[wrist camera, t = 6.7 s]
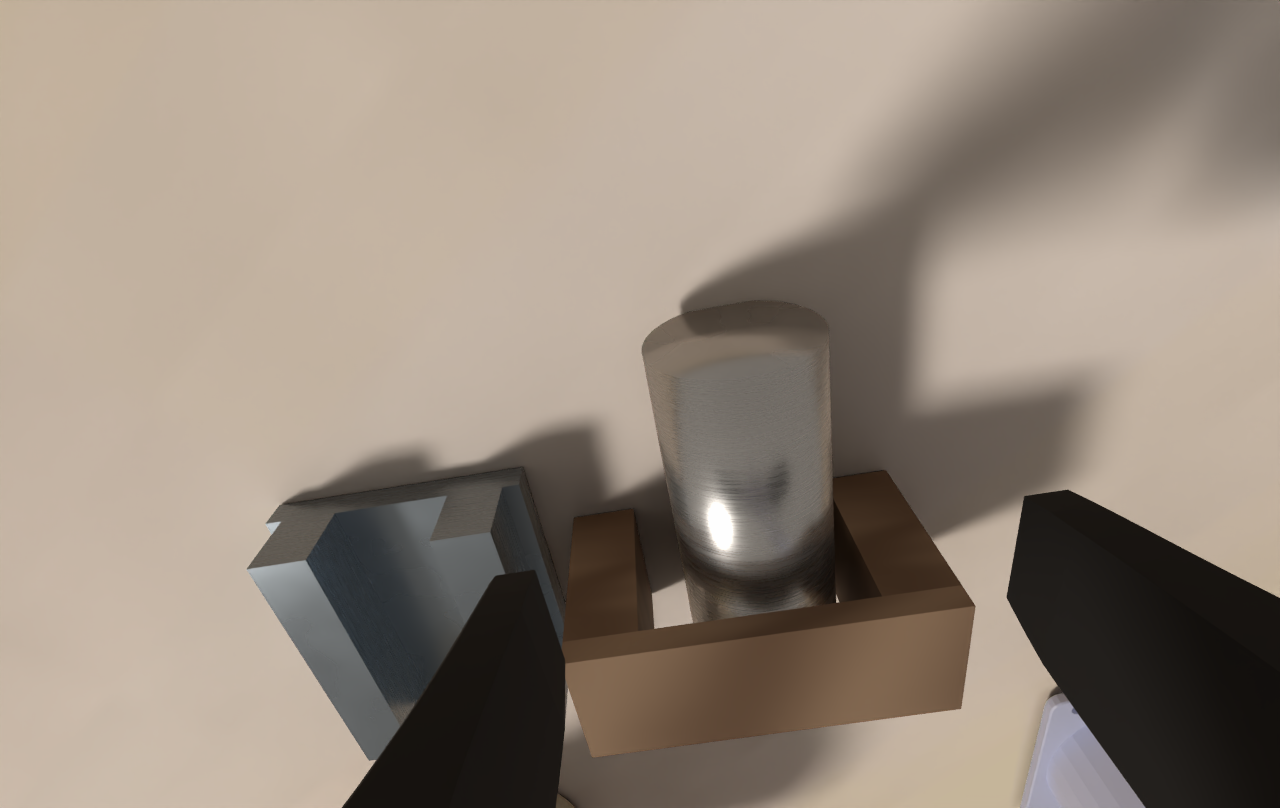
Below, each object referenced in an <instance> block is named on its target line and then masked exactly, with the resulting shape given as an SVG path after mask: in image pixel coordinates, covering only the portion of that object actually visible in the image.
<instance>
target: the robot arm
mask: <svg viewBox="0 0 1280 808" xmlns="http://www.w3.org/2000/svg"><path fill="white" fill-rule="evenodd" d="M1007 599H1008V601H1009V603H1010V605H1011V607H1012V609H1013V611H1014V612H1015V614H1016V616H1017V618H1018V620H1019V622H1020V624H1021V626H1022V628H1023V629H1024V631H1025V633H1026V635H1027V637H1028V639H1029V640H1030V642H1031V644H1032V646H1033V647H1034V649H1035V651H1036V653H1037V654H1038V656H1039V658H1040V660H1041V661H1042V663H1043V665H1044V666H1045V668H1046V669H1047V671H1048V672H1049V673H1050V675H1051V676H1052V678H1053V679H1054V681H1055V682H1056V684H1057V685H1058V686H1059V688H1060V689H1061V691H1062V692H1063V693H1060V694H1056V695H1054V696H1052V697H1050V698H1049V699H1048V700H1047V701H1046V703H1045V707H1044V711H1043V715H1042V719H1041V723H1040V727H1039V731H1038V736H1037V740H1036V744H1035V748H1034V752H1033V756H1032V760H1031V764H1030V768H1029V773H1028V777H1027V781H1026V785H1025V789H1024V793H1023V797H1022V801H1021V805H1020V808H1280V598H1279V597H1277V596H1275V595H1273V594H1271V593H1269V592H1267V591H1265V590H1263V589H1261V588H1259V587H1257V586H1255V585H1253V584H1251V583H1249V582H1247V581H1245V580H1243V579H1241V578H1239V577H1237V576H1235V575H1233V574H1231V573H1229V572H1227V571H1225V570H1223V569H1221V568H1219V567H1217V566H1216V565H1214V564H1212V563H1210V562H1208V561H1206V560H1204V559H1202V558H1200V557H1198V556H1196V555H1194V554H1192V553H1190V552H1189V551H1187V550H1185V549H1183V548H1181V547H1179V546H1177V545H1175V544H1173V543H1171V542H1169V541H1168V540H1166V539H1164V538H1162V537H1160V536H1158V535H1156V534H1154V533H1152V532H1150V531H1148V530H1147V529H1145V528H1143V527H1141V526H1139V525H1137V524H1135V523H1133V522H1131V521H1129V520H1127V519H1126V518H1124V517H1122V516H1120V515H1118V514H1116V513H1114V512H1112V511H1110V510H1108V509H1106V508H1104V507H1102V506H1100V505H1098V504H1096V503H1094V502H1092V501H1090V500H1088V499H1086V498H1084V497H1082V496H1080V495H1078V494H1076V493H1074V492H1072V491H1069V490H1062V491H1056V492H1049V493H1042V494H1036V495H1029V496H1024V501H1023V507H1022V512H1021V518H1020V524H1019V530H1018V535H1017V541H1016V547H1015V552H1014V558H1013V564H1012V570H1011V575H1010V581H1009V587H1008V592H1007ZM564 731H565V658H564V655H563V652H562V649H561V646H560V643H559V640H558V637H557V634H556V631H555V628H554V625H553V622H552V619H551V616H550V613H549V610H548V607H547V604H546V601H545V598H544V595H543V592H542V589H541V586H540V583H539V580H538V577H537V574H536V571H535V570H529V571H523V572H516V573H509V574H503V575H496V576H495V577H494V578H493V579H492V581H491V582H490V583H489V585H488V587H487V588H486V590H485V592H484V593H483V595H482V597H481V598H480V600H479V602H478V604H477V605H476V607H475V609H474V610H473V612H472V614H471V615H470V617H469V619H468V620H467V622H466V624H465V625H464V627H463V629H462V630H461V632H460V634H459V635H458V637H457V639H456V640H455V642H454V644H453V645H452V647H451V648H450V650H449V652H448V653H447V655H446V657H445V658H444V660H443V661H442V663H441V665H440V666H439V668H438V669H437V671H436V672H435V674H434V675H433V677H432V679H431V680H430V682H429V683H428V685H427V686H426V688H425V689H424V691H423V693H422V694H421V696H420V697H419V699H418V700H417V702H416V703H415V705H414V707H413V708H412V710H411V711H410V713H409V714H408V716H407V717H406V719H405V720H404V722H403V723H402V724H401V726H400V727H399V729H398V730H397V732H396V733H395V734H394V736H393V737H392V739H391V740H390V742H389V743H388V744H387V746H386V747H385V749H384V750H383V752H382V753H381V754H380V756H379V757H378V759H377V760H376V761H375V763H374V764H373V766H372V767H371V769H370V770H369V771H368V773H367V774H366V776H365V777H364V779H363V780H362V781H361V783H360V784H359V785H358V787H357V788H356V789H355V791H354V792H353V793H352V795H351V796H350V797H349V799H348V800H347V801H346V803H345V804H344V805H343V807H342V808H556V801H557V793H558V785H559V776H560V767H561V759H562V750H563V741H564Z"/></svg>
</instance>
